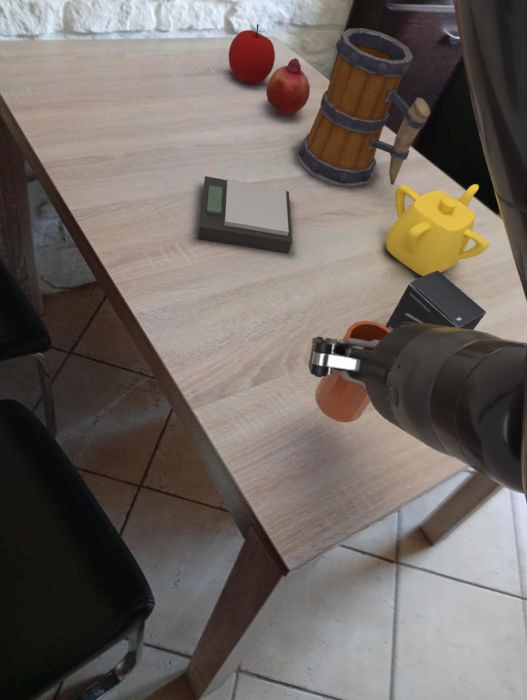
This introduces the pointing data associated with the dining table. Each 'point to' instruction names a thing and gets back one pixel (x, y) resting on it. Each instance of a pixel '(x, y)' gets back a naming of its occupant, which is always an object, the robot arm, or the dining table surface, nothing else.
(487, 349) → the robot arm
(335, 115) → the mug
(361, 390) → the cup
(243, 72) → the apple
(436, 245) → the teapot
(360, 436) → the dining table surface
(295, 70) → the fruit
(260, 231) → the scale
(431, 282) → the box
